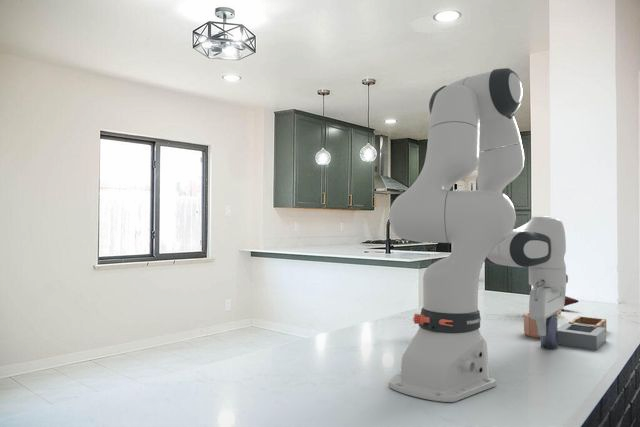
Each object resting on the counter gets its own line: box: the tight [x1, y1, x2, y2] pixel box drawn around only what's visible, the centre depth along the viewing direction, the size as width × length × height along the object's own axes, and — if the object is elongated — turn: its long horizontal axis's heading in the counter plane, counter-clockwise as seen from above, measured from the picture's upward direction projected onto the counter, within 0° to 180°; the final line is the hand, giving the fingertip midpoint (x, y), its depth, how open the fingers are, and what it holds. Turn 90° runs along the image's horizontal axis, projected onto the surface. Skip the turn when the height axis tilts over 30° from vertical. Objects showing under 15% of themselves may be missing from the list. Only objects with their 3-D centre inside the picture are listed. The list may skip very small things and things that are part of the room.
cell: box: [540, 315, 559, 350], centre depth 127 cm, size 4×4×9 cm
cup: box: [523, 312, 541, 339], centre depth 141 cm, size 8×8×6 cm
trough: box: [568, 315, 607, 329], centre depth 144 cm, size 12×8×3 cm, turn 140°
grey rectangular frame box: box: [557, 322, 607, 350], centre depth 132 cm, size 12×10×4 cm
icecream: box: [564, 295, 579, 307], centre depth 181 cm, size 7×7×15 cm
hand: (547, 331), depth 128 cm, fingers open, 8 cm apart
